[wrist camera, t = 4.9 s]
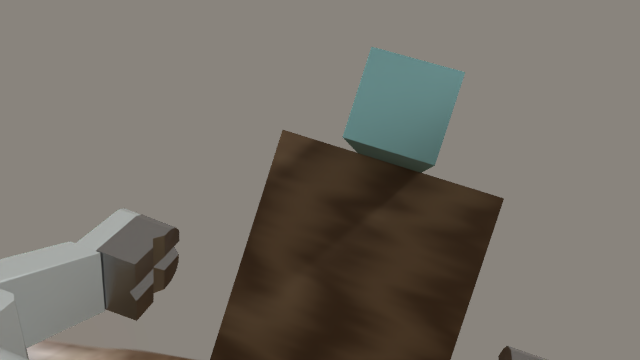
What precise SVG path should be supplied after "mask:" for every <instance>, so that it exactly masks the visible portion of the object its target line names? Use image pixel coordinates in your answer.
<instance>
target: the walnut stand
mask: <svg viewBox="0 0 640 360" xmlns="http://www.w3.org/2000/svg"><path fill="white" fill-rule="evenodd" d="M503 200H504V199H503V198H500V197H497V196H494V195H491V194H488V193H484V192H481V191H478V190H475V189H471V188H468V187H465V186H462V185H458V184H455V183H452V182H449V181H446V180H443V179H439V178H436V177H433V176H430V175H426V174H423V173H420V172H417V171H414V170H410V169H407V168H404V167H401V166H398V165H394V164H391V163H388V162H385V161H381V160H378V159H375V158H372V157H369V156H365V155H362V154H359V153H356V152H353V151H349V150H346V149H343V148H340V147H336V146H333V145H330V144H327V143H324V142H320V141H317V140H314V139H310V138H307V137H304V136H301V135H298V134H295V133H292V132H288V131H285V130H283V131H282V134H281V137H280V140H279V143H278V147H277V150H276V153H275V156H274V159H273V162H272V165H271V168H270V172H269V175H268V178H267V181H266V184H265V187H264V191H263V194H262V197H261V200H260V203H259V207H258V210H257V213H256V216H255V219H254V222H253V225H252V229H251V232H250V235H249V238H248V241H247V244H246V248H245V251H244V254H243V257H242V260H241V263H240V267H239V270H238V273H237V276H236V279H235V282H234V285H233V289H232V292H231V295H230V298H229V301H228V305H227V308H226V311H225V314H224V317H223V320H222V324H221V327H220V330H219V333H218V336H217V340H216V343H215V346H214V349H213V352H212V355H211V359H210V360H450V359H451V356H452V353H453V350H454V347H455V344H456V341H457V338H458V335H459V332H460V329H461V326H462V323H463V320H464V317H465V314H466V311H467V308H468V305H469V302H470V299H471V296H472V293H473V290H474V287H475V284H476V281H477V278H478V275H479V272H480V269H481V266H482V263H483V260H484V257H485V254H486V251H487V248H488V245H489V242H490V239H491V236H492V233H493V230H494V227H495V223H496V221H497V218H498V215H499V212H500V209H501V206H502V202H503Z"/></svg>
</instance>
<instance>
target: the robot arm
mask: <svg viewBox="0 0 640 360" xmlns="http://www.w3.org/2000/svg"><path fill="white" fill-rule="evenodd" d="M178 241H179V230H178V229H177V228H175V227H173V226H170V225H168V224H165V223H163V222H160V221H157V220H155V219H152V218H150V217H147V216H144V215H140V214H138V213H135V212H133V211H130V210H128V209H125V208H124V209H119V210H117V211H116V212H115V213H113V214H112V215H111V216H110V217H108V218H107V219H106V220H104V221H103V222H102V223H101V224H100V225H98V226H97V227H96V228H94V229H93V230H92V231H90V232H89V233H88V234H87V235H86V236H84V237H83V238H82V239H80V240H79V241H78V242H76V243H73V242H66V243H62V244H58V245H54V246H50V247H47V248H42V249H39V250H35V251H31V252H27V253H23V254H19V255H15V256H11V257H8V258H3V259H0V360H29V358H28V354H27V349H26V348H28V347H30V346H32V345H35V344H37V343H39V342H41V341H43V340H45V339H47V338H49V337H51V336H54V335H56V334H58V333H60V332H62V331H64V330H66V329H68V328H70V327H73V326H75V325H77V324H79V323H81V322H83V321H85V320H87V319H90V318H92V317H94V316H96V315H98V314H100V313H102V312H104V311H105V309H106V310H109V311H111V312H114V313H117V314H120V315H122V316H125V317H128V318H131V319H133V320H136V321H137V320H138V319H139V317H140V316H141V315H142V314H143V313H144V312H145V311H146V309H147V308H148V307H149V306H150V305H151V304H152V303H153V293H155V292H158V291H161V290H163V289H165V287H166V286H167V285H168V284H169V282H170V281H171V279H172V278H173V276H174V274H175V272H176V269H177V265H178V258H179V257H178V256H179V254H178V252H177V251H176V249H175V247H174V246H175V245H176V243H178ZM499 360H547V359H543V358H541V357H538V356H535V355H532V354H529V353H526V352H523V351H521V350H518V349H515V348H512V347H509V346H506V347H505V348H504V349H503V350H502V352H501V353H500V355H499Z"/></svg>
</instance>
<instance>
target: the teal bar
mask: <svg viewBox="0 0 640 360" xmlns="http://www.w3.org/2000/svg"><path fill="white" fill-rule="evenodd" d="M464 74H465V72H462V71H458V70H455V69H451V68H447V67H444V66H440V65H436V64H433V63H429V62H426V61H422V60H418V59H414V58H411V57H407V56H404V55H400V54H396V53H392V52H389V51H385V50H382V49H378V48H374V47H371V50H370V54H369V57H368V60H367V63H366V66H365V69H364V72H363V76H362V78H361V82H360V85H359V88H358V91H357V94H356V97H355V100H354V103H353V107H352V110H351V113H350V116H349V119H348V122H347V125H346V129H345V132H344V135H343V138H344V139H345V140H346V141H347V142H348V143H349V144H350V145H351V146H352V147H353V149H355V151H356V152H357V153H359V154H362V155H365V156H369V157H372V158H375V159H378V160H381V161H385V162H388V163H391V164H394V165H398V166H401V167H404V168H407V169H410V170H414V171H417V172H420V173H422V172H423V171H425V170H427V169H429V168H431V167H433V166H435V163H436V160H437V157H438V154H439V151H440V148H441V145H442V142H443V139H444V136H445V132H446V129H447V126H448V123H449V120H450V117H451V114H452V111H453V108H454V105H455V102H456V99H457V96H458V92H459V89H460V87H461V84H462V80H463V77H464Z"/></svg>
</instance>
